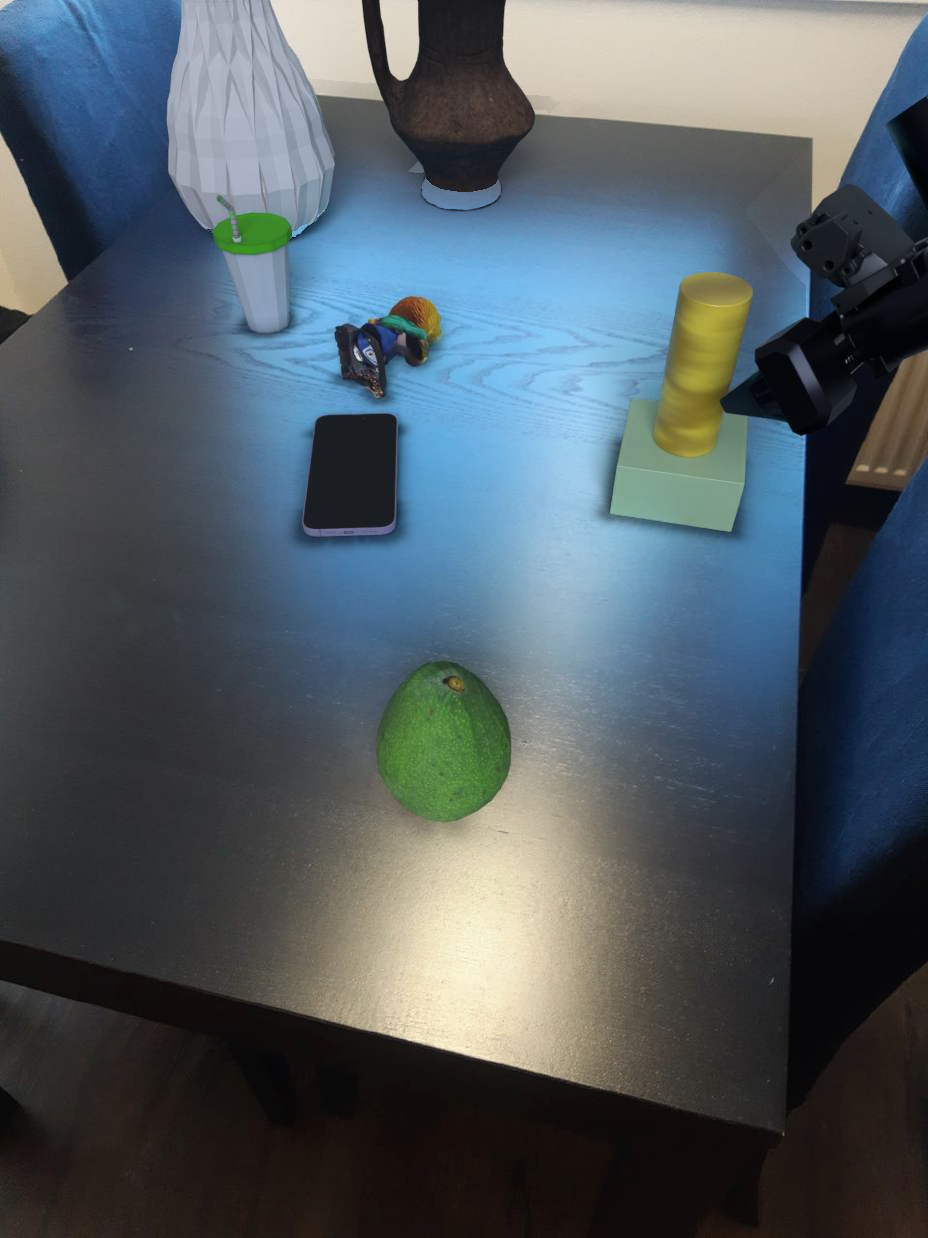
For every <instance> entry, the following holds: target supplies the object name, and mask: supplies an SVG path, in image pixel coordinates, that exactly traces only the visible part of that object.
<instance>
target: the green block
mask: <svg viewBox="0 0 928 1238" xmlns="http://www.w3.org/2000/svg"><path fill="white" fill-rule="evenodd" d="M658 403H659V400H658V401H657V400H651V399H643V398H642V399H641V398H634V397H631V398H630V402H629V406H628V409H627V417H626V420H625V425H624V430H623V435H622V440H621V444H620V449H619V453H618V458H617V463H616V469H615V475H614V483H613V488H612V496H611V503H610V509H609V514H610V515H616V516H622V517H627V518H628V517H629V518H636V519H642V520H648V521H654V522H662V523H669V524H674V525H682V526H689V527H695V528H701V529H708V530H715V531H722V532H727V533H731V532H732V531H733V527H734V524H735V520H736V517H737V513H738V510H739V507H740V503H741V499H742V495H743V493H744V489H745V485H746V470H747V469H746V468H747V447H748V428H749V427H748V426H749V416H743V415H736V414H728V413H726V412H725V411H724V415H723V419H722V423H721V427H720V431H719V435H718V439H717V443H716V446H715V448H714V449H713V450H712V451H711V452H709V453H707V454H705V455H702V456H698V457H681V456H676V455H673V454H670V453H668V452H666V451H664V450H662V449H661V448H660V447H658V446H657V444H656V443H655V441H654V439H653V430H654V425H655V419H656V414H657V408H658Z"/></svg>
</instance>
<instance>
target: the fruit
mask: <svg viewBox="0 0 928 1238" xmlns="http://www.w3.org/2000/svg"><path fill="white" fill-rule="evenodd" d="M375 738H376V739H375V745H376V746H375V749H376V751H375V754H376V761H377V762H376V763H377V767H378V773H379V775H380V777H381V778H382V781H383V782H384V784H385V786H386V788H387V789H388V791H389V793H390V794H391V796H392V797H393V799H394V800H395V801H396V802H398V804H399V805H400V806H401V807H403V808H404V809H405V810H406V811H408V812H410V813H412V814H414V815H416V816H418V817H420V818H422V819H424V820H427V821H433V822H440V823H449V822H456V821H459V820H462V819H464V818H466V817H468V816H470V815H472V814H475V813H476V812H479V811H481V810H482V808H484V807H485V806H487V805H488V804H489V803H491V802H492V801H493V800H494V798H495V797H496V795H497V794H498V793H499V792H500V790H501V789H502V788H503V785H504V784H505V783H506V780H507V779H508V776H509V771H510V769H511V765H512V734H511V729H510V725H509V720H508V717H507V715H506V713H505V711H504V709H503V707H502V705H501V703H500V701H499V700H498V699H497V697H495V695H494V694H493V692H492V691H491V690H490V689H489V687H488V686H487V685H486V684H485V682H484V681H483V680H482V679H481V678H480V677H478V675H476V674H475V673H474V672H472V671H470V670H469V669H467V668H465V667H464V666H462V665H461V664H459V663H456V662H454V661H448V660H437V661H430V662H424V663H423V664H421V665H420V666H418V667H416V669H414V670H412V671H411V672H410V673H409V674H408V675H407V677H405V679H404V680H403V681H402V682H401V684H400V685H399V686H398V687H397V689H395V691H394V693H393V694H392V695H391V697H390V699H388V702H387V704H386V706H385V707H384V710H383V713H382V716H381V719H380V721H379V724H378V728H377V733H376V737H375Z"/></svg>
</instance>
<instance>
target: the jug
mask: <svg viewBox="0 0 928 1238" xmlns="http://www.w3.org/2000/svg"><path fill="white" fill-rule="evenodd" d="M506 3H507V0H417V26H418V28H417V29H418V51H417V57H416V61H415V64H414V66H413V68H412V70H411V72H410V74H409V76H408V77H407V78H405V79H402V80H400V79H398V78H397V77H396V76H395V75H394V74H393V73H392V71H391V69H390V64H389V60H388V59H389V58H388V53H387V44H386V36H385V27H384V22H383V19H382V13H381V12H382V10H381V0H361V7H362V17H363V25H364V33H365V40H366V46H367V52H368V56H369V60H370V64H371V69H372V74H373V77H374V79H375V83H376V85H377V89H378V90H379V94H380V97H381V98H382V101H383V102H384V105H385V107H386V109H387V111H388V116H389V122H390V124H391V127H392V129H393V131H394V132H395V134H396V135H397V136H398V137H399V139H400V140H401V141H402V143H404V144H405V146H406V147H407V149H409V150H410V152H411V153H412V154H413V156H415V158H416V159H417V161H418V162H419V164H420V165H421V166H422V169H423V171H424V174H425V176H424V178H425V177H426V179H427V180H428V181H429V182H430V183H431V184H432V185H434V186H436V187H438V188H440V189H444V190H450V191H457V192H473V191H478V190H483V189H487V188H489V187H491V186H493V185H494V184H496V182H497V180H498V178H499V172H500V170H501V168H502V167H503V165H504V163H505V162H506V161H507V159H508V157H509V156H510V155H511V153H512V152H513V151H514V150H515V149H516V147H517V146H518V144H520V142H521V141H522V140H524V138H525V137H526V136H528V135H529V133H530V132H531V130H533V127H534V124H535V121H536V112H535V110H534V108H533V105H532V103H531V101H530V100H529V98H528V97H527V95H526V94H525V92H524V91H523V89H522V88H521V87H520V85H519V84H518V83H517V82H516V80H515V78H514V77H513V75H512V74H511V72H510V70H509V68H508V67H507V65H506V62H505V59H504V29H505V27H504V26H505V10H506Z"/></svg>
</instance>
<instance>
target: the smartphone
mask: <svg viewBox="0 0 928 1238" xmlns="http://www.w3.org/2000/svg"><path fill="white" fill-rule="evenodd" d="M313 424H314V425H313V431H312V440H311V447H310V456H309V462H308V471H307V479H306V486H305V487H306V488H305V494H304V501H303V511H302V516H301V517H302V518H301V523H302V530H303V532H304V533H305V534H306V535H308V536H310V537H314V538H315V537H349V536H350V537H352V536H382V535H387V534H390V533H392V532H393V531H394V530H395V529H396V527H397V515H398V513H397V512H398V511H397V509H398V469H399V467H398V463H399V461H398V460H399V419H398V417H397V416H396V415H395V414H393V413H389V412H378V413H376V412H374V413H341V414H340V413H338V414H337V413H336V414H335V413H334V414H324V415H320V416H319V417H317V418H316V419H315V421H314V423H313Z"/></svg>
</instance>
